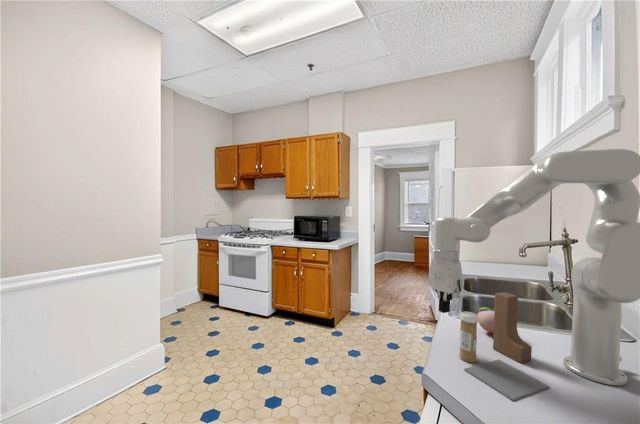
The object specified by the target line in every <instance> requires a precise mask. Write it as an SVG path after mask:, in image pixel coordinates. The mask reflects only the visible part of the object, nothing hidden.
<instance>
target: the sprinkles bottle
mask: <svg viewBox="0 0 640 424" xmlns="http://www.w3.org/2000/svg"><path fill="white" fill-rule="evenodd" d="M459 314H460V316H459V317H460V319H459V320H460V329H459V355H458V356H459V358H460V359H461V360H462V361H464V362H467V363H474V362H476V361H477V341H478V339H477V337H478V336H477V331H478V330H477V325H478V316H477V315H478V314H476V313H475V312H471V311H460V313H459Z"/></svg>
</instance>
